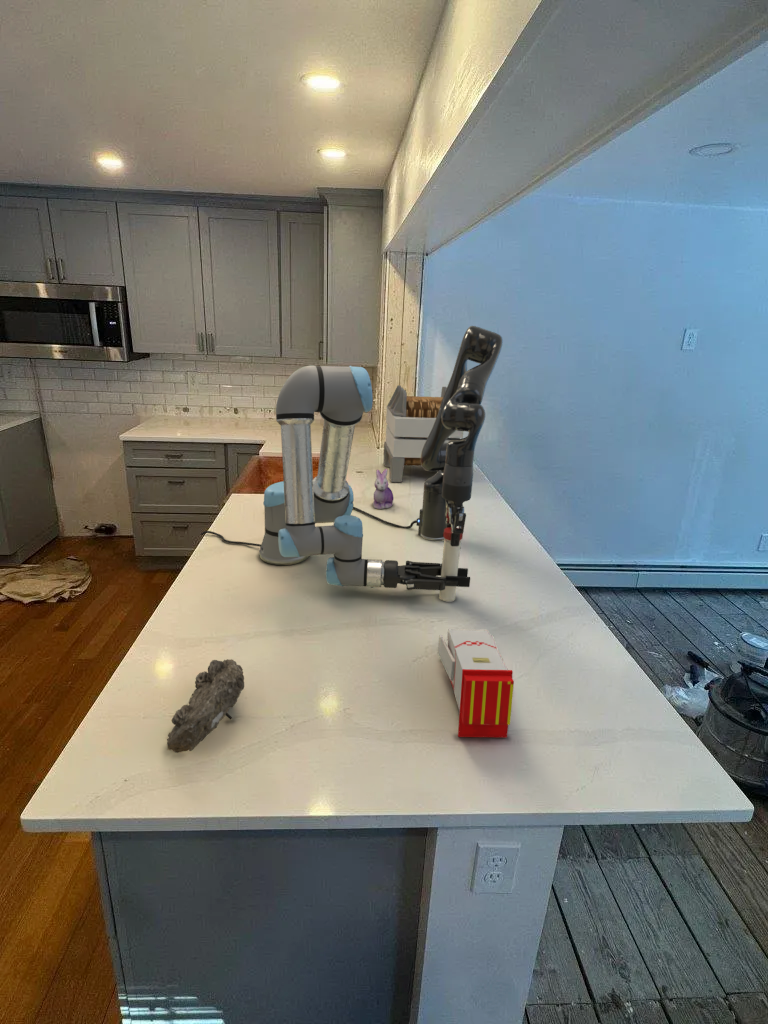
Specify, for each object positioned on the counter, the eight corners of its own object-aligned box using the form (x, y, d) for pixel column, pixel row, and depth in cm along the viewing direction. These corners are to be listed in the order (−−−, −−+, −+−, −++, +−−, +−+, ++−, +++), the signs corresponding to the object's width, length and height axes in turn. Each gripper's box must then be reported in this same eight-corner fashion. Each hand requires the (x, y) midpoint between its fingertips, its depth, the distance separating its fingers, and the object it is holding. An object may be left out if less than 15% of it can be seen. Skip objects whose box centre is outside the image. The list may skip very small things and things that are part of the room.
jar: (436, 599, 156) (442, 535, 149) (441, 592, 160) (447, 529, 153) (452, 603, 154) (458, 538, 148) (457, 596, 158) (463, 532, 152)
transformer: (382, 463, 289) (386, 382, 275) (445, 464, 293) (451, 384, 279) (390, 482, 257) (394, 392, 243) (460, 483, 261) (468, 394, 247)
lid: (466, 538, 151) (467, 531, 150) (453, 542, 147) (454, 535, 147) (452, 532, 154) (452, 525, 154) (439, 536, 151) (439, 529, 150)
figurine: (377, 511, 221) (379, 474, 216) (366, 503, 229) (367, 467, 224) (399, 508, 225) (401, 471, 220) (387, 500, 233) (388, 465, 228)
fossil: (192, 660, 117) (244, 628, 112) (224, 691, 120) (276, 661, 115) (142, 746, 98) (202, 712, 93) (182, 779, 101) (242, 748, 96)
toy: (488, 613, 130) (523, 677, 101) (484, 667, 133) (517, 744, 104) (435, 612, 130) (455, 676, 101) (432, 666, 133) (451, 743, 103)
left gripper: (383, 572, 164) (463, 575, 164) (381, 601, 148) (471, 605, 148) (384, 548, 162) (465, 552, 162) (383, 575, 145) (474, 579, 145)
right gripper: (479, 489, 139) (472, 552, 145) (465, 473, 153) (459, 531, 158) (449, 489, 138) (443, 552, 144) (437, 472, 152) (433, 531, 157)
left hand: (468, 577), depth 155 cm, fingers closed on jar, 4 cm apart
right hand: (452, 541), depth 151 cm, fingers open, 5 cm apart
